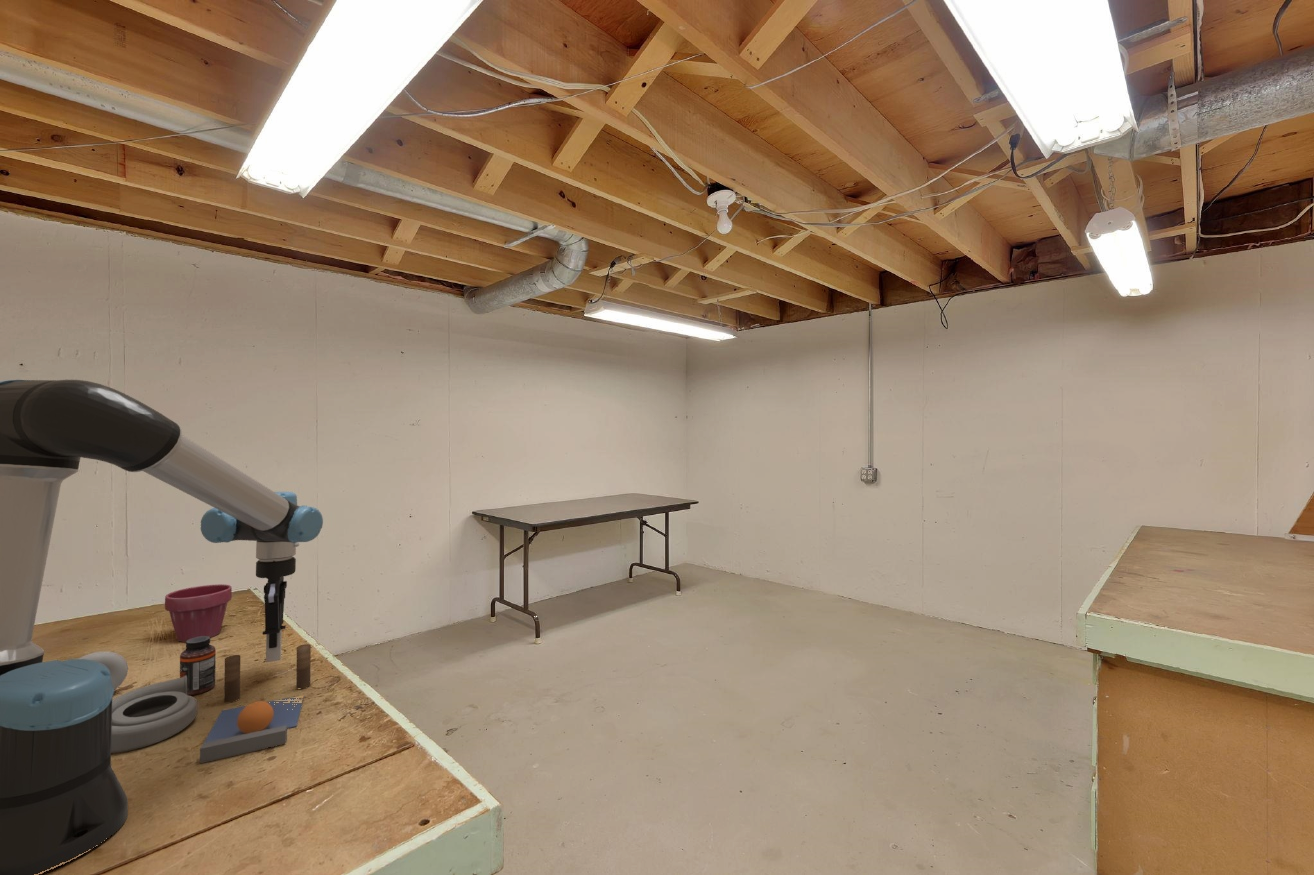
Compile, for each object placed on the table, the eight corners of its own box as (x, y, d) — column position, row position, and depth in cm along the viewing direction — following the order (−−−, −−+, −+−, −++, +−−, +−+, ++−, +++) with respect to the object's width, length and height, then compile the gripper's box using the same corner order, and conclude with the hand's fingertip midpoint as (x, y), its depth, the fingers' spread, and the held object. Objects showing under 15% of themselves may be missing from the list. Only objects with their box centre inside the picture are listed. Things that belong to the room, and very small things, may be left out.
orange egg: (273, 691, 101) (276, 708, 103) (237, 699, 98) (241, 715, 101) (270, 718, 97) (273, 734, 100) (233, 727, 94) (236, 743, 97)
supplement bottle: (174, 692, 114) (174, 640, 114) (207, 681, 119) (208, 632, 119) (186, 699, 111) (187, 646, 111) (220, 687, 116) (221, 636, 116)
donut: (58, 711, 106) (59, 661, 106) (59, 705, 108) (59, 657, 108) (128, 693, 113) (129, 647, 113) (127, 688, 116) (128, 643, 116)
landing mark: (296, 726, 101) (296, 725, 101) (202, 746, 94) (202, 745, 94) (304, 695, 113) (304, 694, 113) (222, 711, 106) (222, 710, 106)
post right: (309, 687, 116) (310, 647, 116) (295, 690, 115) (295, 649, 115) (310, 682, 119) (311, 643, 119) (297, 685, 117) (297, 645, 118)
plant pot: (182, 629, 152) (183, 585, 152) (240, 624, 156) (240, 581, 156) (152, 648, 138) (152, 600, 138) (216, 642, 142) (216, 595, 142)
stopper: (285, 744, 95) (285, 730, 95) (199, 763, 89) (199, 748, 89) (286, 738, 97) (287, 725, 97) (203, 757, 91) (203, 742, 91)
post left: (238, 701, 110) (238, 658, 110) (222, 703, 109) (223, 660, 109) (241, 695, 113) (241, 653, 113) (225, 698, 111) (226, 656, 111)
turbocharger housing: (80, 774, 88) (198, 739, 99) (80, 737, 88) (198, 706, 98) (91, 726, 101) (195, 700, 111) (91, 693, 100) (195, 670, 111)
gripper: (292, 561, 118) (289, 667, 117) (299, 552, 129) (296, 648, 129) (250, 565, 114) (247, 673, 114) (261, 554, 126) (258, 653, 125)
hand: (273, 660), depth 121 cm, fingers closed
